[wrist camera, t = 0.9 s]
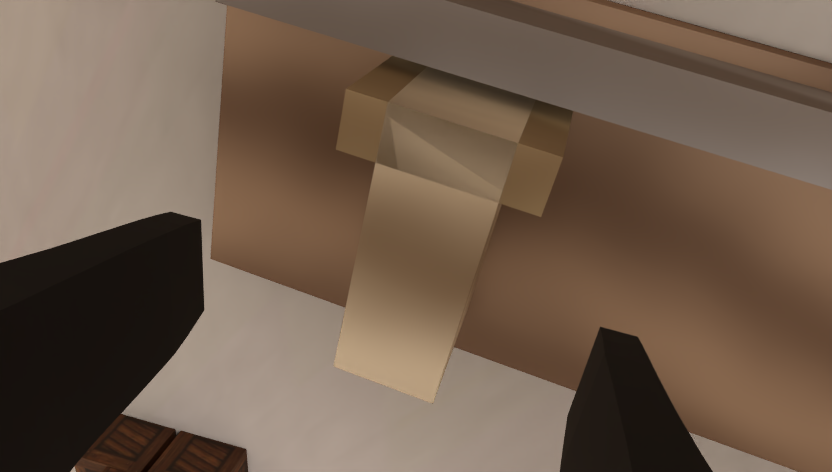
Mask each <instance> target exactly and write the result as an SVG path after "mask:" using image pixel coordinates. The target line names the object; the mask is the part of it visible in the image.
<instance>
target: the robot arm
mask: <svg viewBox="0 0 832 472" xmlns="http://www.w3.org/2000/svg"><path fill="white" fill-rule="evenodd" d="M203 311H204V291H203V263H202V234H201V220H200V219H196V218H192V217H188V216H185V215H181V214H177V213H173V212H168V213H163V214H159V215H155V216H152V217H148V218H145V219H141V220H138V221H135V222H131V223H128V224H125V225H122V226H119V227H116V228H113V229H110V230H107V231H104V232H100V233H97V234H94V235H91V236H88V237H85V238H82V239H79V240H76V241H73V242H69V243H66V244H63V245H60V246H57V247H54V248H51V249H47V250H44V251H40V252H37V253H33V254H30V255H26V256H23V257H19V258H16V259H13V260H9V261H6V262H2V263H0V472H70V471H71V470H72V468H73V467H74V466H75V465H76V464H77V462H78V461H79V460H80V459H81V458H82V456H83V455H84V454H85V453H86V452H87V451H88V449H89V448H90V447H91V446H92V445H93V444H94V442H95V441H96V440H97V439H98V438H99V437H100V436H101V435H102V434H103V433H104V432H105V430H106V429H107V428H108V427H109V426H110V425H111V424H112V423H113V422H114V421H115V419H116V418H117V417H118V416H119V415H120V414H121V413H122V412H123V411H124V410H125V409H126V407H127V406H128V405H129V404H130V403H131V402H132V401H133V400H134V399H135V398H136V397H137V395H138V394H139V393H140V392H141V391H142V390H143V389H144V388H145V387H146V386H147V384H148V383H149V382H150V381H151V380H152V379H153V378H154V377H155V376H156V374H157V373H158V372H159V371H160V370H161V369H162V368H163V367H164V365H165V364H166V363H167V362H168V361H169V360H170V359H171V357H172V356H173V355H174V354H175V353H176V351H177V350H178V348H179V347H180V346H181V344H182V343H183V341H184V340H185V339H186V337H187V336H188V334H189V333H190V331H191V330H192V328H193V327H194V325H195V324H196V322H197V320H198V319H199V317H200V316H201V314H202V313H203ZM560 472H713V471H712V470H711V468H710V467H709V465H708V464H707V462H706V461H705V459H704V457H703V456H702V454H701V452H700V451H699V449H698V447H697V446H696V444H695V442H694V441H693V439H692V437H691V435H690V434H689V432H688V430H687V428H686V427H685V425H684V423H683V421H682V420H681V418H680V416H679V414H678V413H677V411H676V409H675V407H674V405H673V404H672V402H671V400H670V398H669V396H668V394H667V392H666V390H665V388H664V386H663V385H662V383H661V381H660V379H659V377H658V375H657V373H656V371H655V369H654V367H653V365H652V363H651V361H650V359H649V357H648V355H647V353H646V351H645V349H644V347H643V345H642V343H641V341H640V340H639V338H638V337H637V336H634V335H630V334H626V333H622V332H619V331H615V330H611V329H607V328H604V327H600V328H599V331H598V334H597V336H596V339H595V342H594V345H593V347H592V350H591V353H590V356H589V358H588V361H587V364H586V367H585V369H584V372H583V375H582V378H581V380H580V383H579V386H578V389H577V391H576V394H575V397H574V400H573V402H572V405H571V408H570V411H569V413H568V417H567V424H566V430H565V437H564V444H563V452H562V459H561V467H560Z"/></svg>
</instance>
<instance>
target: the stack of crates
mask: <svg viewBox="0 0 832 472" xmlns="http://www.w3.org/2000/svg"><path fill="white" fill-rule="evenodd" d="M75 469H76V472H248V464H247V451H246V449H244V448H240V447H237V446H233V445H230V444H226V443H223V442H219V441H216V440H212V439H209V438H205V437H202V436H198V435H194V434H191V433H187V432H184V431H180V433H179V434H178V435H177V436H176V431H175V429H172V428H168V427H165V426H161V425H158V424H154V423H151V422H147V421H144V420H140V419H137V418H133V417H130V416H126V415H123V414H120V415H119V416H118V417H117V418H116V419H115V421H114V422H113V423H112V424H111V425H110V426H109V427H108V428H107V429H106V430H105V432H104V433H103V434H102V435H101V436H100V437H99V438H98V439H97V440H96V441H95V442H94V444H93V445H92V446H91V447H90V448H89V449H88V451H87V452H86V453H85V454H84V455H83V456H82V458H81V459H80V460H79V461H78V462H77V464H76V465H75Z"/></svg>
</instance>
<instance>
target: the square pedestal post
mask: <svg viewBox="0 0 832 472" xmlns="http://www.w3.org/2000/svg"><path fill="white" fill-rule="evenodd" d="M572 114H573V111H572V110H569V109H565V108H562V107H559V106H556V105H552V104H549V103H546V102H542V101H539V100H536V99H533V98H529V97H526V96H523V95H520V94H516V93H513V92H510V91H506V90H503V89H500V88H497V87H493V86H490V85H487V84H484V83H480V82H477V81H474V80H470V79H467V78H464V77H461V76H457V75H454V74H451V73H448V72H444V71H441V70H438V69H434V68H431V67H428V66H425V65H421V64H418V63H415V62H412V61H408V60H405V59H402V58H398V57H395V56H391V57H390V58H389V59H387V60H386V61H384V62H383V63H382V64H380V65H379V66H377V67H376V68H375V69H373V70H372V71H370V72H369V73H368V74H366V75H365V76H363V77H362V78H361V79H359V80H358V81H356V82H355V83H353V84H352V85H351V86H349V87H348V88H346V92H345V98H344V104H343V110H342V116H341V121H340V127H339V133H338V139H337V145H336V150H339V151H342V152H345V153H348V154H351V155H354V156H357V157H360V158H363V159H366V160H369V161H372V162H375V167H374V172H373V177H372V182H371V186H370V191H369V196H368V201H367V206H366V211H365V216H364V220H363V225H362V230H361V235H360V240H359V245H358V249H357V254H356V259H355V264H354V269H353V274H352V279H351V283H350V288H349V293H348V298H347V303H346V308H345V313H344V317H343V322H342V327H341V332H340V337H339V342H338V346H337V351H336V356H335V361H334V367H336V368H339V369H342V370H344V371H347V372H350V373H352V374H355V375H358V376H360V377H363V378H366V379H368V380H371V381H374V382H376V383H379V384H382V385H384V386H387V387H390V388H392V389H395V390H398V391H400V392H403V393H406V394H408V395H411V396H414V397H416V398H419V399H422V400H424V401H427V402H430V403H432V404H433V402H434V399H435V396H436V394H437V391H438V388H439V386H440V383H441V380H442V377H443V375H444V372H445V369H446V366H447V364H448V361H449V358H450V356H451V353H452V350H453V347H454V345H455V342H456V339H457V336H458V334H459V331H460V328H461V326H462V323H463V320H464V317H465V315H466V312H467V309H468V306H469V303H470V300H471V297H472V294H473V291H474V288H475V284H476V281H477V278H478V275H479V272H480V269H481V266H482V263H483V260H484V257H485V254H486V251H487V248H488V245H489V242H490V239H491V236H492V233H493V230H494V227H495V224H496V221H497V218H498V215H499V212H500V209H501V206H502V204H503V205H506V206H509V207H512V208H515V209H518V210H521V211H524V212H527V213H530V214H533V215H536V216H539V217H541V216H542V213H543V210H544V208H545V205H546V202H547V200H548V197H549V194H550V192H551V189H552V186H553V183H554V181H555V178H556V175H557V173H558V170H559V167H560V165H561V162H562V159H563V156H564V151H565V147H566V142H567V137H568V133H569V128H570V123H571V119H572Z"/></svg>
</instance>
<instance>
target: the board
mask: <svg viewBox="0 0 832 472" xmlns="http://www.w3.org/2000/svg"><path fill="white" fill-rule="evenodd" d="M216 2H218V3H222V4H225V5H227V15H226V30H225V46H224V61H223V76H222V92H221V107H220V122H219V138H218V153H217V168H216V183H215V199H214V214H213V229H212V245H211V259H213V260H216V261H218V262H221V263H224V264H227V265H229V266H232V267H235V268H238V269H240V270H243V271H246V272H249V273H251V274H254V275H257V276H260V277H263V278H265V279H268V280H271V281H274V282H276V283H279V284H282V285H285V286H287V287H290V288H293V289H296V290H298V291H301V292H304V293H307V294H310V295H312V296H315V297H318V298H321V299H323V300H326V301H329V302H332V303H334V304H337V305H340V306H343V307H345V308H346V303H347V298H348V293H349V288H350V283H351V279H352V274H353V269H354V264H355V259H356V254H357V249H358V245H359V240H360V235H361V230H362V225H363V220H364V216H365V211H366V206H367V201H368V196H369V191H370V186H371V182H372V177H373V172H374V167H375V162H372V161H369V160H366V159H363V158H360V157H357V156H354V155H351V154H348V153H345V152H342V151H339V150H336V145H337V139H338V133H339V127H340V121H341V116H342V110H343V104H344V98H345V92H346V88H348V87H349V86H351V85H352V84H353V83H355V82H356V81H358V80H359V79H361V78H362V77H363V76H365V75H366V74H368V73H369V72H370V71H372V70H373V69H375V68H376V67H377V66H379V65H380V64H382V63H383V62H384V61H386V60H387V59H389V58H390V57H391V56H395V57H398V58H402V59H405V60H408V61H412V62H415V63H418V64H421V65H425V66H428V67H431V68H434V69H438V70H441V71H444V72H448V73H451V74H454V75H457V76H461V77H464V78H467V79H470V80H474V81H477V82H480V83H484V84H487V85H490V86H493V87H497V88H500V89H503V90H506V91H510V92H513V93H516V94H520V95H523V96H526V97H529V98H533V99H536V100H539V101H542V102H546V103H549V104H552V105H556V106H559V107H562V108H565V109H569V110H572V111H573V114H572V119H571V123H570V128H569V133H568V137H567V142H566V147H565V151H564V156H563V159H562V162H561V165H560V167H559V170H558V173H557V175H556V178H555V181H554V183H553V186H552V189H551V192H550V194H549V197H548V200H547V202H546V205H545V208H544V210H543V213H542V216H541V217H539V216H536V215H533V214H530V213H527V212H524V211H521V210H518V209H515V208H512V207H509V206H506V205H503V204H502V206H501V209H500V212H499V215H498V218H497V221H496V224H495V227H494V230H493V233H492V236H491V239H490V242H489V245H488V248H487V251H486V254H485V257H484V260H483V263H482V266H481V269H480V272H479V275H478V278H477V281H476V284H475V288H474V291H473V294H472V297H471V300H470V303H469V306H468V309H467V312H466V315H465V317H464V320H463V323H462V326H461V328H460V331H459V334H458V336H457V339H456V342H455V345H454V347H456V348H459V349H461V350H464V351H467V352H470V353H472V354H475V355H478V356H481V357H484V358H486V359H489V360H492V361H495V362H497V363H500V364H503V365H506V366H508V367H511V368H514V369H517V370H519V371H522V372H525V373H528V374H531V375H533V376H536V377H539V378H542V379H544V380H547V381H550V382H553V383H555V384H558V385H561V386H564V387H566V388H569V389H572V390H575V391H577V389H578V386H579V383H580V380H581V378H582V375H583V372H584V369H585V367H586V364H587V361H588V358H589V356H590V353H591V350H592V347H593V345H594V342H595V339H596V336H597V334H598V331H599V328H600V327H604V328H607V329H611V330H615V331H619V332H622V333H626V334H630V335H634V336H637V337H638V338H639V340H640V341H641V343H642V345H643V347H644V349H645V351H646V353H647V355H648V357H649V359H650V361H651V363H652V365H653V367H654V369H655V371H656V373H657V375H658V377H659V379H660V381H661V383H662V385H663V386H664V388H665V390H666V392H667V394H668V396H669V398H670V400H671V402H672V404H673V405H674V407H675V409H676V411H677V413H678V414H679V416H680V418H681V420H682V421H683V423H684V425H685V427H686V428H687V430H688V432H691V433H693V434H696V435H699V436H702V437H705V438H707V439H710V440H713V441H716V442H718V443H721V444H724V445H727V446H729V447H732V448H735V449H738V450H740V451H743V452H746V453H749V454H752V455H754V456H757V457H760V458H763V459H765V460H768V461H771V462H774V463H776V464H779V465H782V466H785V467H787V468H790V469H793V470H796V471H798V472H832V64H831V63H828V62H824V61H821V60H817V59H814V58H810V57H806V56H803V55H799V54H796V53H792V52H789V51H785V50H782V49H778V48H774V47H771V46H767V45H764V44H760V43H757V42H753V41H750V40H746V39H742V38H739V37H735V36H732V35H728V34H725V33H721V32H718V31H714V30H710V29H707V28H703V27H700V26H696V25H693V24H689V23H686V22H682V21H678V20H675V19H671V18H668V17H664V16H661V15H657V14H654V13H650V12H646V11H643V10H639V9H636V8H632V7H629V6H625V5H622V4H618V3H614V2H611V1H607V0H216Z"/></svg>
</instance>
